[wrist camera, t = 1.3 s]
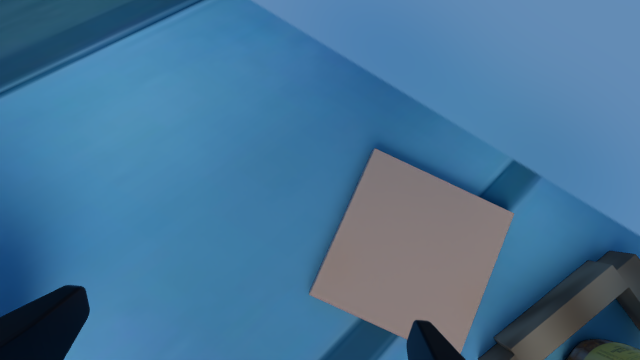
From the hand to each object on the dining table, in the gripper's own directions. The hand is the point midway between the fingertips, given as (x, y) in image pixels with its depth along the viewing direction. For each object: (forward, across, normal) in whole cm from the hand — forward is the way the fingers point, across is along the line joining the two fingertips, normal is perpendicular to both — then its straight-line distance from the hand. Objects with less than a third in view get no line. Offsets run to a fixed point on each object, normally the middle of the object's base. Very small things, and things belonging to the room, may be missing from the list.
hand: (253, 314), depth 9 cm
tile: (+14, -10, +7) cm, 18 cm away
